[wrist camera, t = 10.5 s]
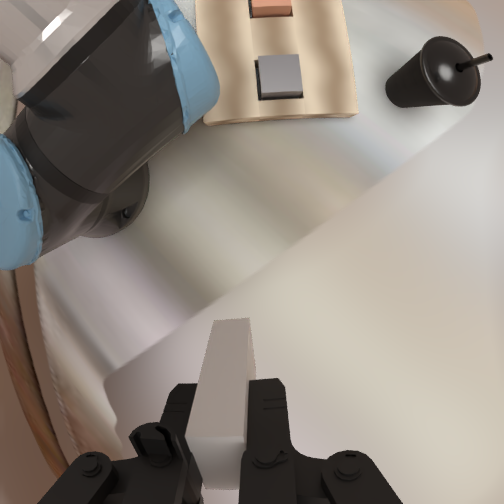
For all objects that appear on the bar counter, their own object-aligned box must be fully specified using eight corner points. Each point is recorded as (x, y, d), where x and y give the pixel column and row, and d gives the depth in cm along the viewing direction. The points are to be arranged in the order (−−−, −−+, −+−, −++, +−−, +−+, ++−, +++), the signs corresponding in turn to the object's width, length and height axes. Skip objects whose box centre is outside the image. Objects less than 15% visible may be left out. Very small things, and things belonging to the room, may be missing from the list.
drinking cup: (365, 76, 36) (439, 25, 17) (407, 58, 35) (491, 12, 16) (393, 126, 38) (484, 110, 19) (433, 106, 37) (529, 87, 18)
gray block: (261, 101, 36) (261, 92, 31) (258, 68, 35) (258, 56, 30) (297, 99, 36) (302, 90, 31) (293, 66, 35) (298, 54, 30)
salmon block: (253, 23, 33) (252, 7, 28) (250, -4, 32) (249, -21, 27) (288, 21, 33) (291, 5, 28) (284, -5, 32) (287, -23, 27)
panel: (208, 126, 39) (203, 122, 35) (199, -6, 33) (194, -19, 29) (349, 117, 38) (358, 113, 34) (329, -12, 32) (335, -25, 29)
